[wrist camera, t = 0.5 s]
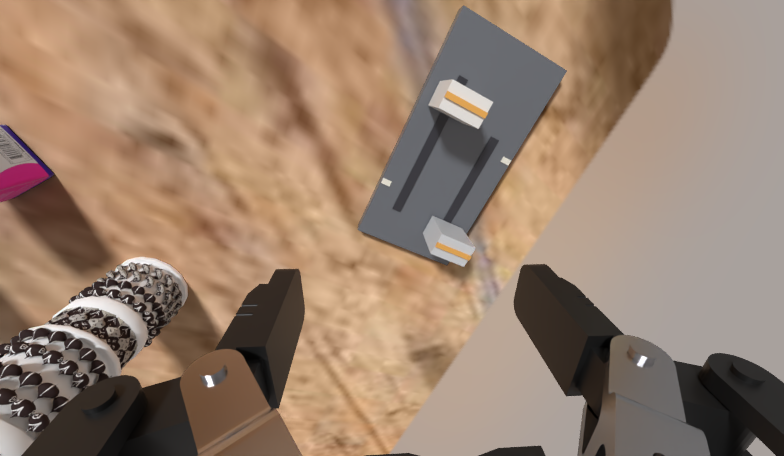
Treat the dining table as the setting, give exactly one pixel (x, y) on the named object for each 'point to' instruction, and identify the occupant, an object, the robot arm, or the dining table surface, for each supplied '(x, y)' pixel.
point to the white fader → (460, 103)
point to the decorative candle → (83, 345)
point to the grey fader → (448, 241)
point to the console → (460, 135)
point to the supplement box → (18, 166)
